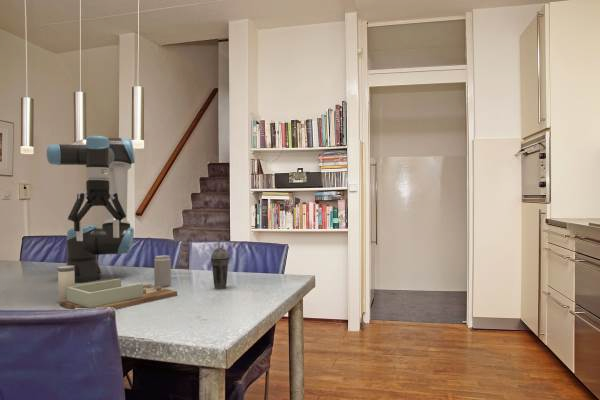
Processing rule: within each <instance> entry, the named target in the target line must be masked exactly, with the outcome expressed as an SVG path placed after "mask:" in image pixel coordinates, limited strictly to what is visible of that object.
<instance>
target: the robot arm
mask: <svg viewBox="0 0 600 400" xmlns="http://www.w3.org/2000/svg"><path fill="white" fill-rule="evenodd" d="M133 145H134V144H133V141H132V140H131V139H130V138H127V137H126V138H125V137H107V136H102V135H89V136H88V135H87V137H86V138H85V139H84V138H83V139H79V140H76V141H75V142H74V143H67V144H58V143H55V144H52V143H51V144H48V146H47V149H46V160H47V162H48V163H49V164H50V165H56V166H64V165H65V166H67V165H69V166H85V179H86V181H85V185H86V186H85V187H86V188H85V190H86V193H83V192H79V193H77V194H76V195H77V196H76V201H75V203H74V205H73V207H72V208H71V210H70V213H69V214H68V217H67V220H68V221H72V222H73V228H69V230H67V233H66V265H65V266H75V270H74V271H75V283H78V284H79V283H85V282H86V283H90V282H93V281H99V280H101V279H102V277H103V276H102V271H101V269H100V268H101V267H100V265H99V263H98V255H99V256H100V255H101V256H102V255H123V254H129V253H130V252H131V250H132V249H133V248H132V247H133V244H134V235H135V232H134V231H135V230H134V227H132V226H131V223H130V222H129V221H128V182H129V181H128V180H129V179H128V177H129V175H128V171H129V170H130V169H131V168H132V164H135V163H136V161H135V159H136V157H135V151H134V146H133ZM85 200H87V201H86V202H85V203H84V201H85ZM83 203H84V206H83V207H82V205H83ZM99 206H101V207H105V208H106V212H105V213H106V214H105V215H106V216H105V217H106V218H105V221H104V222H102V224H101V225H102V226H101V227H100V228H98V226H97V225H96V224H94V225H92V224H91V225H87V226H83V224H84V223H83V221H82V220H83V218H84V217H85V215H86V214H87V213H88V212H90V209H91V208H93V207H99ZM81 207H82V208H81Z"/></svg>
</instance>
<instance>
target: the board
mask: <svg viewBox="0 0 600 400" xmlns="http://www.w3.org/2000/svg"><path fill="white" fill-rule="evenodd" d="M176 296H178V291H177V290H173V289H168V288H165V287H161V286H156V285H154V286H153V285H152V283H147V284H143V297H138V298H134V299H129V300H124V301H120V302H115V303H110V304H105V305H101V306H96V307H113V308H116V309H115V310H118V309H117V308H119V309H123V308H122V307H124V308H127V306H128V307H132V305H133V306H135V305H136V304H137V305H141V303H142V304H145V302H146V303H150V302H154V301H158V300H163V299H167V298H173V297H176ZM137 305H136V306H137ZM59 306H60V307H63V308H67V309H69V310H72V309H75V308H88V307H84V306H81V305H78V304H75V303H72V302H69V301H67V300H62V301H60V303H59ZM96 307H91V308H96Z"/></svg>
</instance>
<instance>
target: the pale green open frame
mask: <svg viewBox="0 0 600 400" xmlns="http://www.w3.org/2000/svg"><path fill="white" fill-rule="evenodd" d="M143 285H144V284H143V282H142V283H140V282H139V283H134V284H129V285H124V286H122V278H116V279H110V280H104V281H102V280H101V281H97V282H92V283H90V282H89V283H86V284H79V285H75V286H72V287H67V301H69V302H72V303H75V304H78V305H81V306H84V307H88V308H91V307H96V306H101V305H105V304H110V303H115V302H120V301H124V300H129V299H134V298H138V297H143Z"/></svg>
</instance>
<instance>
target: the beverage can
mask: <svg viewBox="0 0 600 400" xmlns="http://www.w3.org/2000/svg"><path fill="white" fill-rule="evenodd" d="M171 261H172V259H171V257H170V255H168V254H167V255H156V256H155V257H154V259H153V265H154V266H153V268H154V269H153V271H154V272H153V273H154V275H153V277H154V283H153V284H154V286H155V287H156V286H161V288H165V287H166V288H167V287H169V286H170V285H171V283H172V266H171V265H172V262H171Z"/></svg>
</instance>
